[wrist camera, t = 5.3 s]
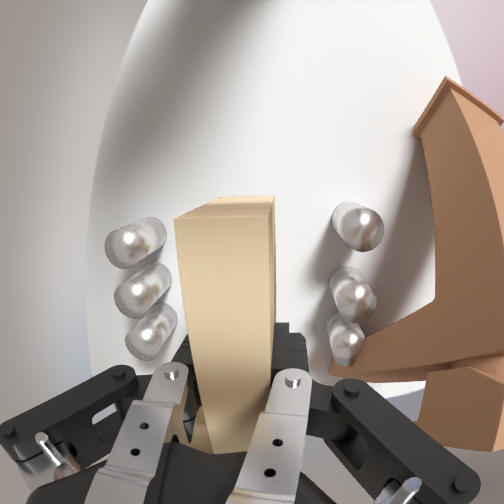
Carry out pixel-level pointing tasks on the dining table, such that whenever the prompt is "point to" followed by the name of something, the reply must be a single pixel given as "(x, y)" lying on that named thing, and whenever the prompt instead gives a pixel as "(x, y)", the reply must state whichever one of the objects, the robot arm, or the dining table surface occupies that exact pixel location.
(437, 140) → the tan tall stepped post
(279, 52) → the dining table surface
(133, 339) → the spacers
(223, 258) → the wooden l-bracket
